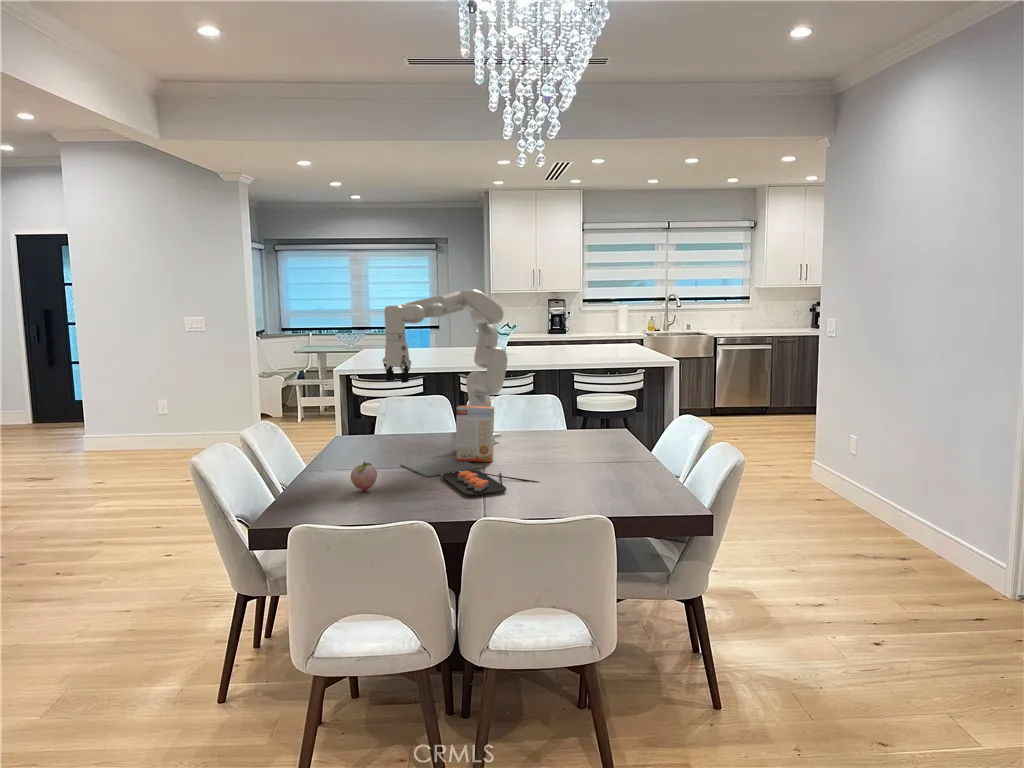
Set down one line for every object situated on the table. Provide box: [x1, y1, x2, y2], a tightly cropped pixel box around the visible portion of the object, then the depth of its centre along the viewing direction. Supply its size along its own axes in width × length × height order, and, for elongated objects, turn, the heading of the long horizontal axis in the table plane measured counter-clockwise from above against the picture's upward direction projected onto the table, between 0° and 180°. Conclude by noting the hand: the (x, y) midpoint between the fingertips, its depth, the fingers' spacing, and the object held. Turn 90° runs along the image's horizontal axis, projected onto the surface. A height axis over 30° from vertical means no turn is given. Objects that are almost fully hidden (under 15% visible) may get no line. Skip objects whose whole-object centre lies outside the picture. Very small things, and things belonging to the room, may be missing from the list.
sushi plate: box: [441, 469, 539, 496], centre depth 239 cm, size 29×30×4 cm
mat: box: [400, 455, 482, 478], centre depth 262 cm, size 22×22×1 cm
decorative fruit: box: [350, 461, 378, 492], centre depth 230 cm, size 9×8×10 cm
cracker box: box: [455, 405, 495, 463], centre depth 270 cm, size 14×6×21 cm, turn 84°
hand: (397, 381), depth 274 cm, fingers open, 9 cm apart
